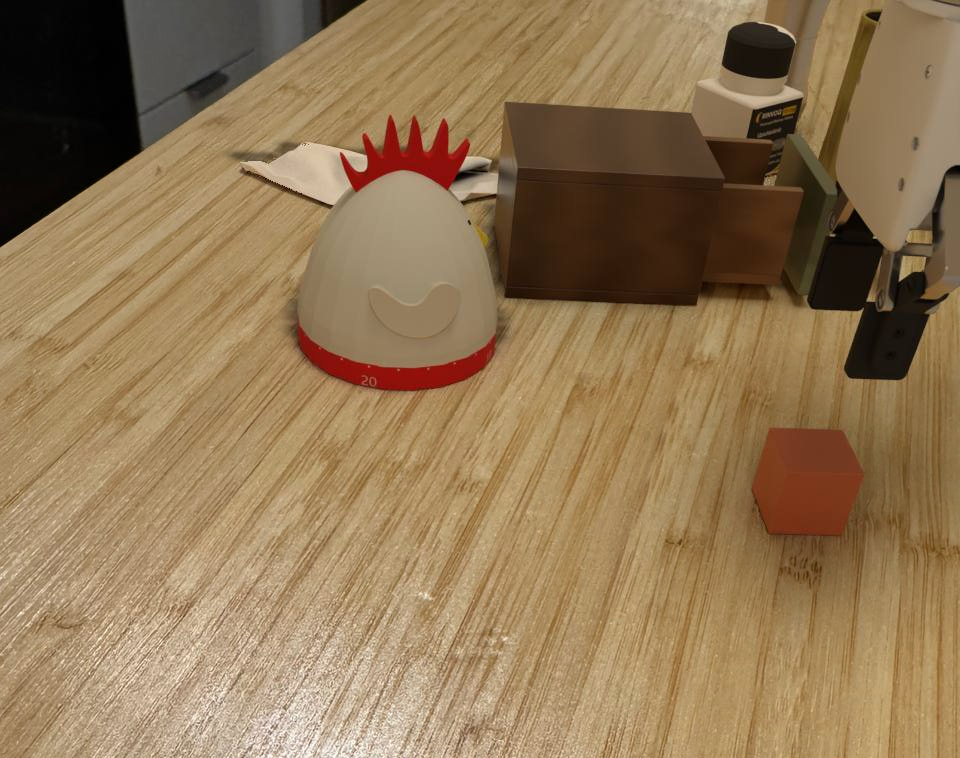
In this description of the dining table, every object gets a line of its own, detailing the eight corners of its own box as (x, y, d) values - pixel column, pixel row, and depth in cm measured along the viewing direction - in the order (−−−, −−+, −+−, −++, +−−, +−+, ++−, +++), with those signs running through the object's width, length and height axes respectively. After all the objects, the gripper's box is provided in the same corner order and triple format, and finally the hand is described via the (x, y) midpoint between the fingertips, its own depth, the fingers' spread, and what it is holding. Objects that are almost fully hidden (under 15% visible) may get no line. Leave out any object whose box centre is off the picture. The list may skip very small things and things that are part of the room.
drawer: (864, 234, 97) (894, 139, 91) (908, 300, 88) (944, 200, 83) (617, 222, 95) (633, 124, 89) (639, 288, 87) (658, 184, 81)
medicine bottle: (736, 186, 105) (768, 45, 96) (680, 159, 108) (706, 21, 100) (785, 171, 108) (821, 34, 100) (729, 145, 112) (759, 11, 104)
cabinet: (667, 232, 96) (691, 112, 90) (696, 306, 87) (725, 178, 80) (494, 224, 95) (504, 101, 88) (504, 297, 86) (517, 167, 79)
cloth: (213, 195, 95) (211, 168, 93) (264, 136, 105) (262, 111, 103) (520, 241, 93) (523, 213, 91) (543, 177, 103) (545, 151, 101)
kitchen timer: (514, 386, 77) (538, 161, 66) (308, 394, 74) (301, 162, 64) (473, 288, 87) (489, 79, 76) (290, 292, 84) (281, 76, 73)
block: (821, 490, 71) (842, 429, 68) (842, 536, 68) (865, 474, 64) (751, 488, 70) (769, 426, 67) (768, 534, 67) (788, 471, 64)
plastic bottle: (761, 109, 120) (815, -113, 106) (812, 131, 117) (874, -96, 103) (721, 120, 117) (770, -108, 103) (772, 142, 113) (830, -91, 100)
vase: (883, 182, 108) (936, 17, 98) (865, 203, 104) (918, 33, 94) (822, 165, 110) (868, 2, 100) (802, 185, 106) (847, 17, 96)
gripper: (1160, 33, 43) (979, 434, 55) (987, -79, 55) (871, 269, 68) (969, 19, 42) (829, 429, 54) (837, -91, 54) (748, 263, 67)
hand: (853, 338), depth 61 cm, fingers open, 6 cm apart
